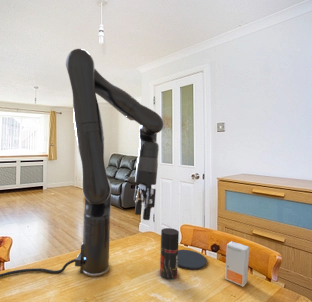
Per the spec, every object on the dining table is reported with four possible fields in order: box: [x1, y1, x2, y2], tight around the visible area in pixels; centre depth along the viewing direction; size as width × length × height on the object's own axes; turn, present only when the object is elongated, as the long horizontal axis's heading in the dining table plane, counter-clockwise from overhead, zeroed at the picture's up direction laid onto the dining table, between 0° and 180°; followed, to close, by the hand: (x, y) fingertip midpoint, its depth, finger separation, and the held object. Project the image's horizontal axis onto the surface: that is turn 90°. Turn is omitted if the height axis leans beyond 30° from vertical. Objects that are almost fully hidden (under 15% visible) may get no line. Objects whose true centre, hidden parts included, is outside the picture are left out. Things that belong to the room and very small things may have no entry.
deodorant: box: [159, 227, 180, 280], centre depth 77 cm, size 6×6×15 cm
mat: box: [178, 249, 208, 271], centre depth 88 cm, size 14×14×1 cm
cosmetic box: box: [224, 240, 250, 288], centre depth 75 cm, size 6×4×12 cm
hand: (141, 217), depth 78 cm, fingers open, 8 cm apart
